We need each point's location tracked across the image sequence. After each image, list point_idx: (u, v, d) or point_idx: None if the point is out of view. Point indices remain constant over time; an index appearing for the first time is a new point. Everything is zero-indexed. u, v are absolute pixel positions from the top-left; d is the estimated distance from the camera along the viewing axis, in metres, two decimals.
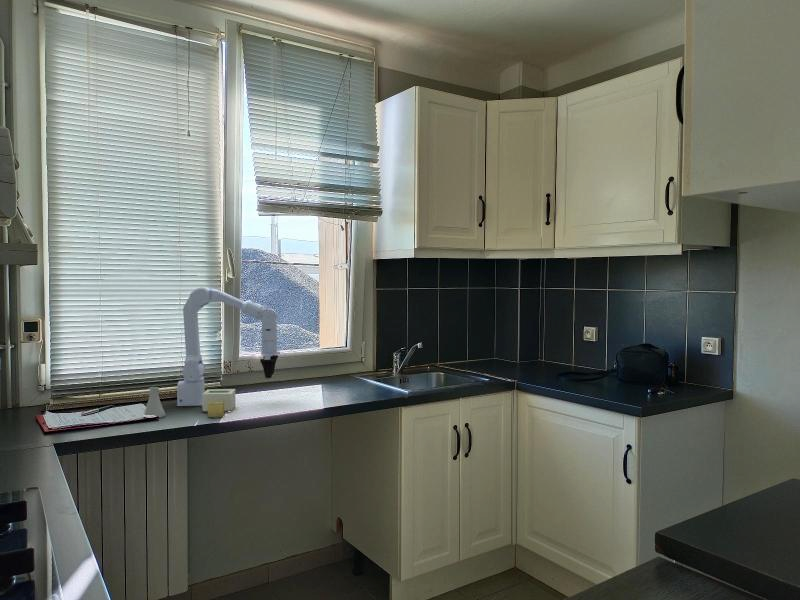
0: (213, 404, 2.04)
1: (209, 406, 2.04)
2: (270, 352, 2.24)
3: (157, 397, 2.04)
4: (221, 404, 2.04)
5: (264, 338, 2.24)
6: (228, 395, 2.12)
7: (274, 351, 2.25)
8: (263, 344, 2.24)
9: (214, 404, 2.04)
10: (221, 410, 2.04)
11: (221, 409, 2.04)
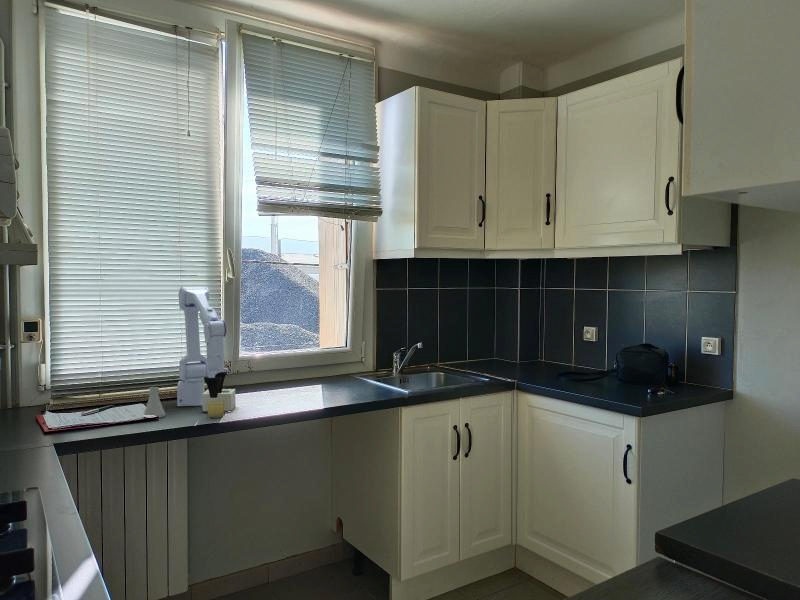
0: (213, 404, 2.04)
1: (209, 406, 2.04)
2: (216, 369, 2.02)
3: (157, 397, 2.04)
4: (221, 404, 2.04)
5: None
6: (228, 395, 2.12)
7: (220, 368, 2.03)
8: (208, 360, 2.02)
9: (214, 404, 2.04)
10: (221, 410, 2.04)
11: (221, 409, 2.04)
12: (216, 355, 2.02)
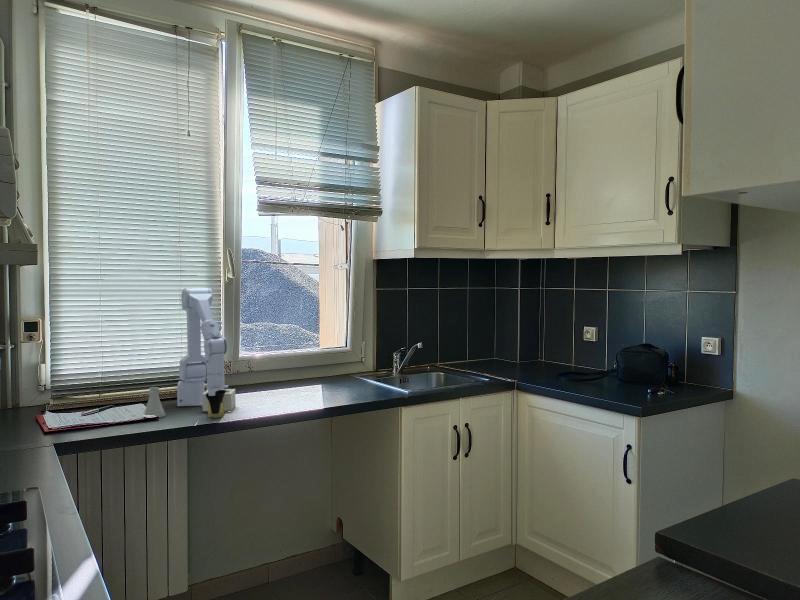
0: None
1: (209, 406, 2.04)
2: (216, 386, 2.02)
3: (157, 397, 2.04)
4: (221, 404, 2.04)
5: None
6: (228, 395, 2.12)
7: (221, 385, 2.03)
8: (208, 377, 2.02)
9: None
10: (221, 410, 2.04)
11: (221, 409, 2.04)
12: (216, 373, 2.02)
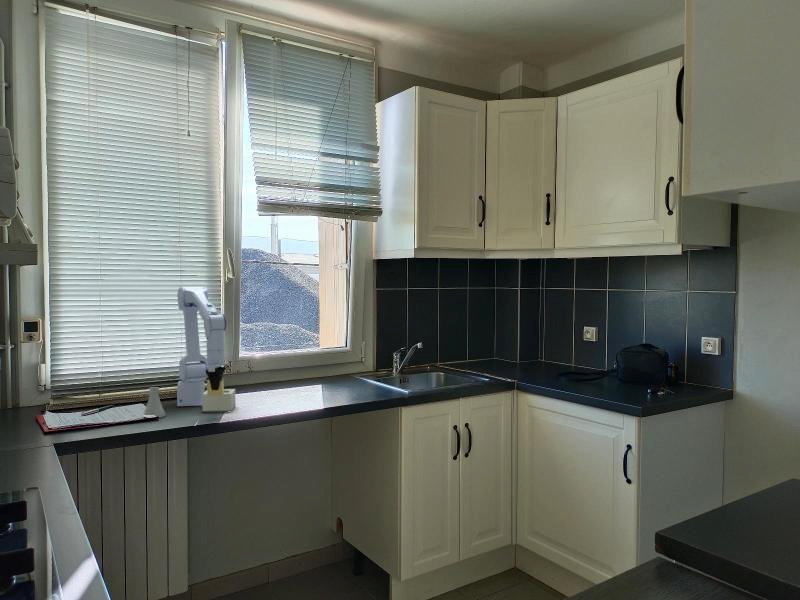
0: None
1: (208, 384, 2.04)
2: (216, 363, 2.02)
3: (157, 397, 2.04)
4: (220, 382, 2.04)
5: None
6: (228, 395, 2.12)
7: (220, 362, 2.03)
8: (208, 354, 2.03)
9: None
10: (220, 388, 2.05)
11: (220, 387, 2.05)
12: (216, 349, 2.02)
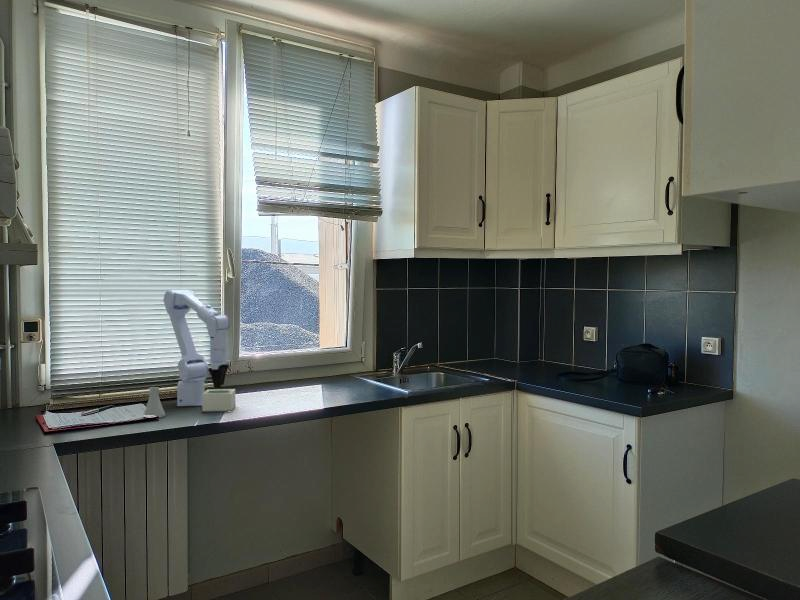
0: None
1: None
2: (219, 361, 2.12)
3: (157, 397, 2.04)
4: None
5: (210, 346, 2.14)
6: (228, 395, 2.12)
7: (223, 360, 2.13)
8: (211, 353, 2.13)
9: None
10: None
11: None
12: (222, 348, 2.13)
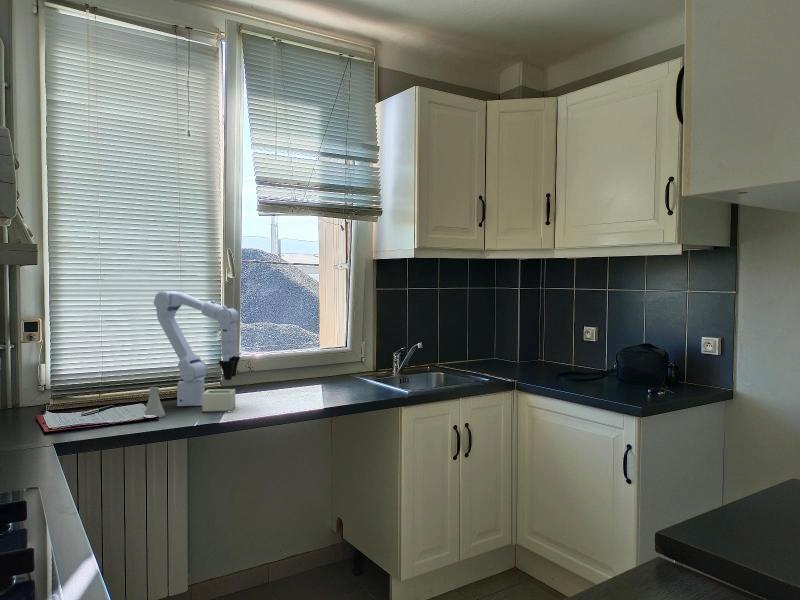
0: None
1: None
2: (229, 353, 2.18)
3: (157, 397, 2.04)
4: None
5: (222, 339, 2.18)
6: (228, 395, 2.12)
7: (234, 352, 2.19)
8: (222, 345, 2.18)
9: None
10: None
11: None
12: (235, 340, 2.19)
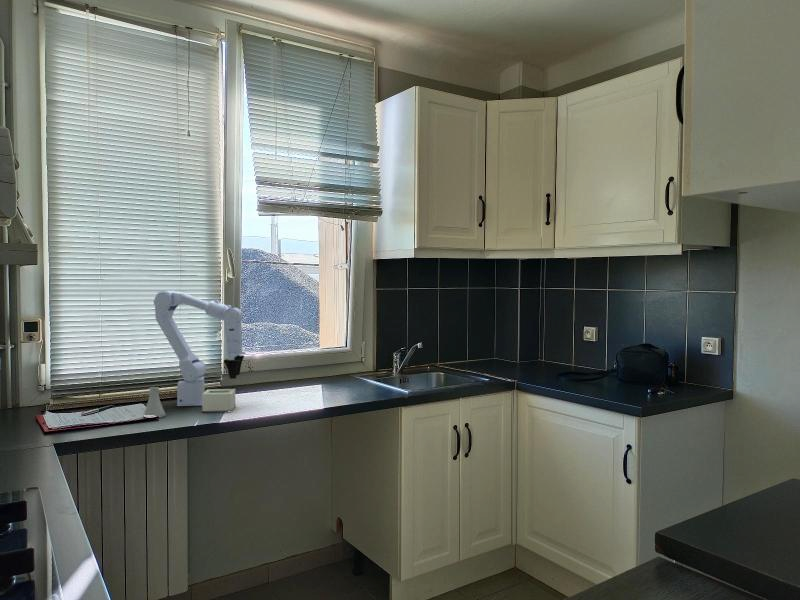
0: None
1: None
2: (234, 352, 2.21)
3: (157, 397, 2.04)
4: None
5: (228, 338, 2.21)
6: (228, 395, 2.12)
7: (239, 351, 2.22)
8: (227, 344, 2.21)
9: None
10: None
11: None
12: (240, 339, 2.23)
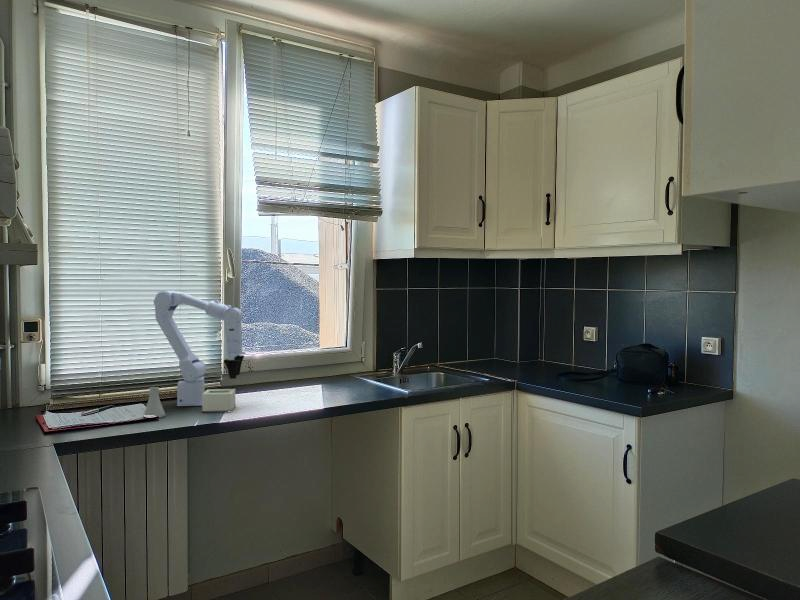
0: None
1: None
2: (234, 352, 2.21)
3: (157, 397, 2.04)
4: None
5: (228, 338, 2.21)
6: (228, 395, 2.12)
7: (239, 351, 2.22)
8: (227, 344, 2.21)
9: None
10: None
11: None
12: (240, 339, 2.23)
